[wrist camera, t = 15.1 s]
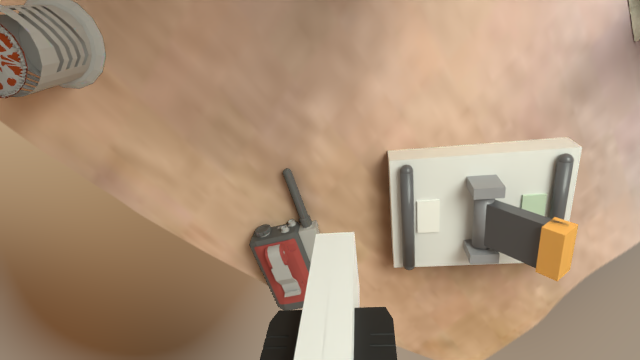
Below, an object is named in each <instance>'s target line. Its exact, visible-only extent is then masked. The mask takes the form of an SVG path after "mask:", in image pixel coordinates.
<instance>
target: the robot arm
mask: <svg viewBox="0 0 640 360" xmlns="http://www.w3.org/2000/svg"><path fill="white" fill-rule="evenodd" d="M260 360H397V354H396V344H395V334H394V324H393V318H392V317H391V315H390V314H389V312H388V310H387V309H386V307H367V308H359V277H358V267H357V256H356V246H355V235H354V232H344V233H324V234H316V237H315V243H314V248H313V254H312V259H311V265H310V271H309V276H308V282H307V288H306V293H305V299H304V304H303V310H284V311H278V313H277V314H276V315H275V316H274V318H273V319H272V320H271V322H270V324H269V327H268V331H267V335H266V339H265V342H264V346H263V350H262V353H261V357H260Z"/></svg>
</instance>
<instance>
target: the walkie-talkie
mask: <svg viewBox="0 0 640 360" xmlns="http://www.w3.org/2000/svg"><path fill="white" fill-rule="evenodd" d="M283 175H284V178H285V180H286V183H287V185H288V188H289V191H290V193H291V196H292V198H293V201H294V204H295V206H296V209H297V211H298V214H299V217H300V219H299V220H300V222H301V224H300V223H298V222H295V221H294V219H291V220H289V221H288V224H284V225H280V226H276V227H270V225H262V226H260V227H258V228H257V229H256V230H255V232H254V235H253V237H252V239H251V241H250V247H251V249H252V252H253V254H254V256H255V258H256V260H257V262H258V265H259V267H260V269H261V271H262V272H263V275H264V276H265V279H266V282H267V283H268V285H269V288H270V289H271V292H272V295H273V297H274V298H275V301H276V304H277V305H278V307H280V308H281V309H283V310H293V309H298V308H303V304H304V299H305V293H306V288H307V282H308V276H309V271H310V265H311V259H312V254H313V248H314V243H315V237H316V234H320V232H319V229H318V223H317V221H316V220H315V221H311V219H310V216H309V215H308V214H307V211H306V209H305V206H304V203H303V201H302V198H301V195H300V193H299V190H298V187H297V185H296V182H295V180H294V177H293V174H292V172H291V170H290V169H288V168H287V169H285V170H284V171H283Z"/></svg>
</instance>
